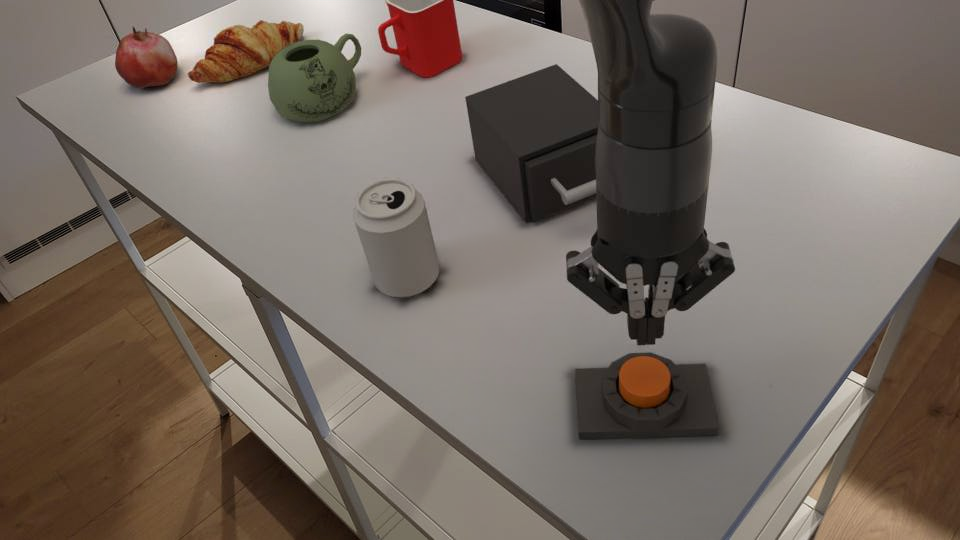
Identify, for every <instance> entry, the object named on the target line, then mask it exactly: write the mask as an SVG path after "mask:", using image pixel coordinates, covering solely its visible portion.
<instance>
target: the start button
mask: <svg viewBox="0 0 960 540" xmlns="http://www.w3.org/2000/svg"><path fill="white" fill-rule="evenodd" d="M670 380H671V376H670V372H669V370H668V368H667V367H666V365H665V364H664V363H662V362H661V361H660V360H658V359H656V358H653V357H648V356H639V357H634V358H632V359H630V360H628V361H627V362H625V363H624V364H623V366H622V367H621V369H620V372H619V390H620V393H621V395H622V397H623V398H624V399H625V400H626V401H627V402H628V403H630V404H631V405H633V406H636V407H640V408H651V407H655V406H658V405H660V404H661V403H663V402H664V401H665V400H666V399H667V397H668V395H669V392H670Z"/></svg>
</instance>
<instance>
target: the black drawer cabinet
mask: <svg viewBox="0 0 960 540" xmlns="http://www.w3.org/2000/svg"><path fill="white" fill-rule="evenodd" d="M464 98H465V104H466V110H467V117H468V123H469V129H470V135H471V140H472V147H473V153H474V159H475V162H476V163H477V164H478V166H479V167H480V168H481V169H482V170H483V172H484V174H486V175H487V177H488V178H489V179H490V180H491V182H492V183H493V184H494V185H495V187H496V188H497V189H498V191H499V192H500V193H501V195H503V196H504V198H505V199H506V200H507V201H508V203H509V204H510V205H511V206H512V208H513V209H514V210H515V212H516V213H517V214H518V215H519V217H520V218H521V219H522V220H523V221H524V223H525V224H528V223H531V222H533V221H534V220H533V219H532V218H531V216H530V210H529V201H528V191H527V182H526V173H525V164H524V162H525V161H526V160H528V159H531V158H533V157H536V156H539V155H541V154H544V153H546V152H549V151H552V150H554V149H557V148H559V147H562V146H565V145H567V144H570V143H572V142H575V141H578V140H580V139H583V138H585V137H588V136H590V135H593V134H596V133H597V131H598V121H599V120H598V98H596V97H595V96H594V95H592V93H591V92H589V91H588V90H587V89H586V88H585V87H584V86H582V84H580V83H579V82H578V81H577V80H576V79H574V78H573V76H571V75H570V74H569V73H567V71H566V70H564V69H563V68H562V67H560V65H559V64H557V63H555V64H552V65H550V66H547V67H544V68H541V69H539V70H536V71H533V72H531V73H527V74H525V75H522V76H520V77H517V78H514V79H511V80H508V81H506V82H502V83H500V84H496V85H495V86H491V87H489V88H486V89H483V90H480V91H478V92H477V91H476V92H475V93H472V94H469V95H466V96H465V97H464Z"/></svg>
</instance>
